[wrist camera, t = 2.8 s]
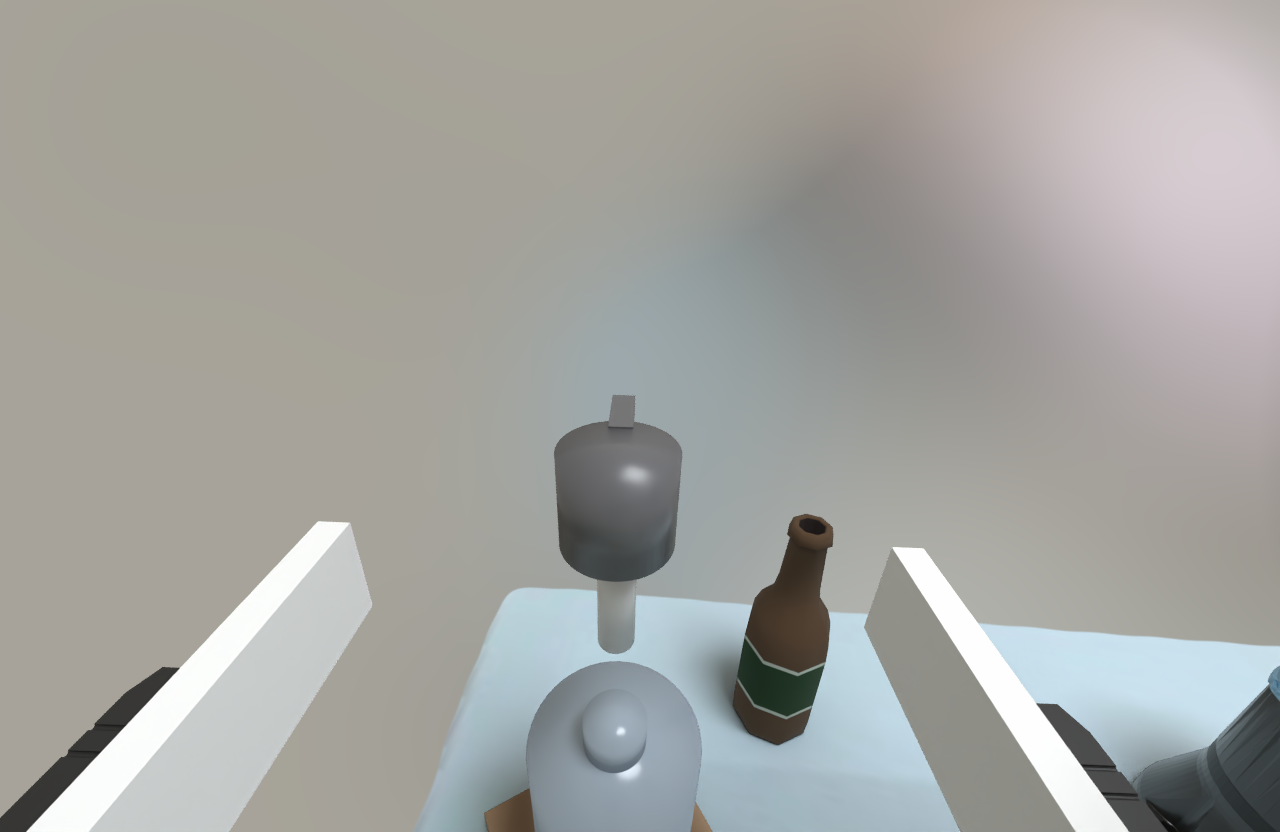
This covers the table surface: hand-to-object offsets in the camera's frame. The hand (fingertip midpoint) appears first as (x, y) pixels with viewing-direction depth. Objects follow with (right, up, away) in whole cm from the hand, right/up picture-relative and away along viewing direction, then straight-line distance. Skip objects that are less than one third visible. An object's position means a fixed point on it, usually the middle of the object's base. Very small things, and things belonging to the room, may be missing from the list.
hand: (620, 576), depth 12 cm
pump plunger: (-1, -8, +16) cm, 18 cm away
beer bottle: (+14, -26, +39) cm, 49 cm away
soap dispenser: (-2, -31, +26) cm, 41 cm away
